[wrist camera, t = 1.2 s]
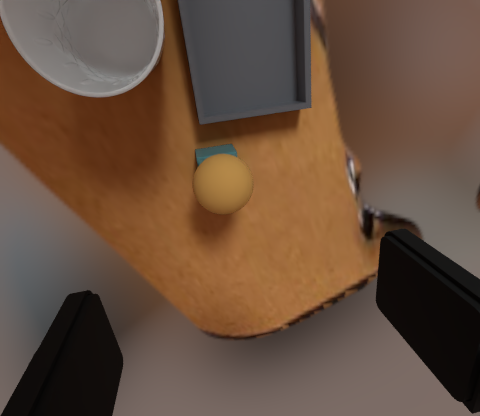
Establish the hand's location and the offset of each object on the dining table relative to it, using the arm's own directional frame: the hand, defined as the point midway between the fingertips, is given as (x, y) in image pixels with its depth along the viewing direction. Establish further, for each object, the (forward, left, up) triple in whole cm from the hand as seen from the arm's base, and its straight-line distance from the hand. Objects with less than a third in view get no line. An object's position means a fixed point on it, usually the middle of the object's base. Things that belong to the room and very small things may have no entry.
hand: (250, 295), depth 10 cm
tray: (-9, +5, -22) cm, 24 cm away
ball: (+2, +1, -16) cm, 16 cm away
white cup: (-10, -5, -22) cm, 25 cm away
